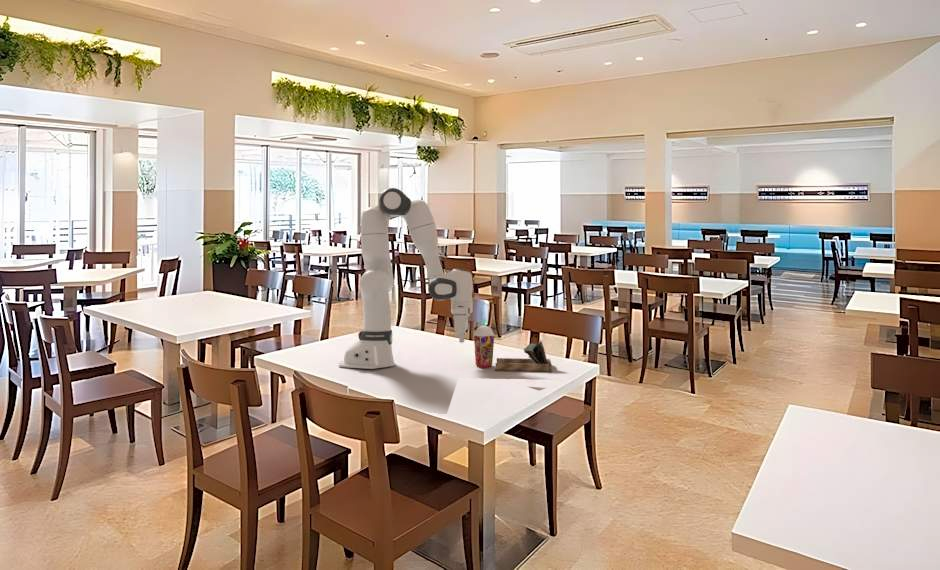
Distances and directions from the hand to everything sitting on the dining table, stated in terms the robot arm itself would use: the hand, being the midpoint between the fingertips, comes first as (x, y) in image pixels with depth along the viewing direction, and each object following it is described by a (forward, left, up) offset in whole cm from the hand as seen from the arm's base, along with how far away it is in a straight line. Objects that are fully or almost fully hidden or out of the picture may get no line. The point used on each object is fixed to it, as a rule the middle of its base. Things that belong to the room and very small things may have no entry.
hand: (461, 342), depth 252 cm
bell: (+30, +1, -11) cm, 32 cm away
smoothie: (+9, 0, -11) cm, 14 cm away
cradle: (+25, 0, -10) cm, 27 cm away
